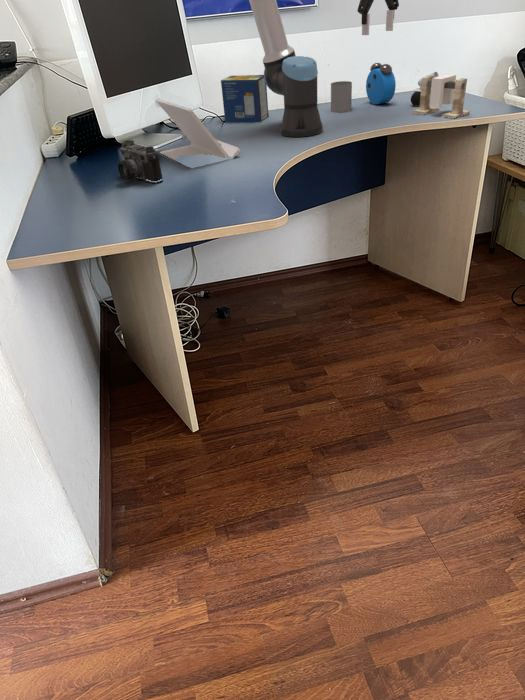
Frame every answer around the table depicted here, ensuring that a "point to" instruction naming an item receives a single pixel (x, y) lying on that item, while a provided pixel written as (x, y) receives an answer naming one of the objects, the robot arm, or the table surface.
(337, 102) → the cup
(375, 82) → the alarm clock
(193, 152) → the tablet stand
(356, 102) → the table surface
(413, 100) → the microphone
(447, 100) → the notched white block
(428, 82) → the hook stand
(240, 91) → the protein box
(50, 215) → the table surface
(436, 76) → the wall hook
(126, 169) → the camera
